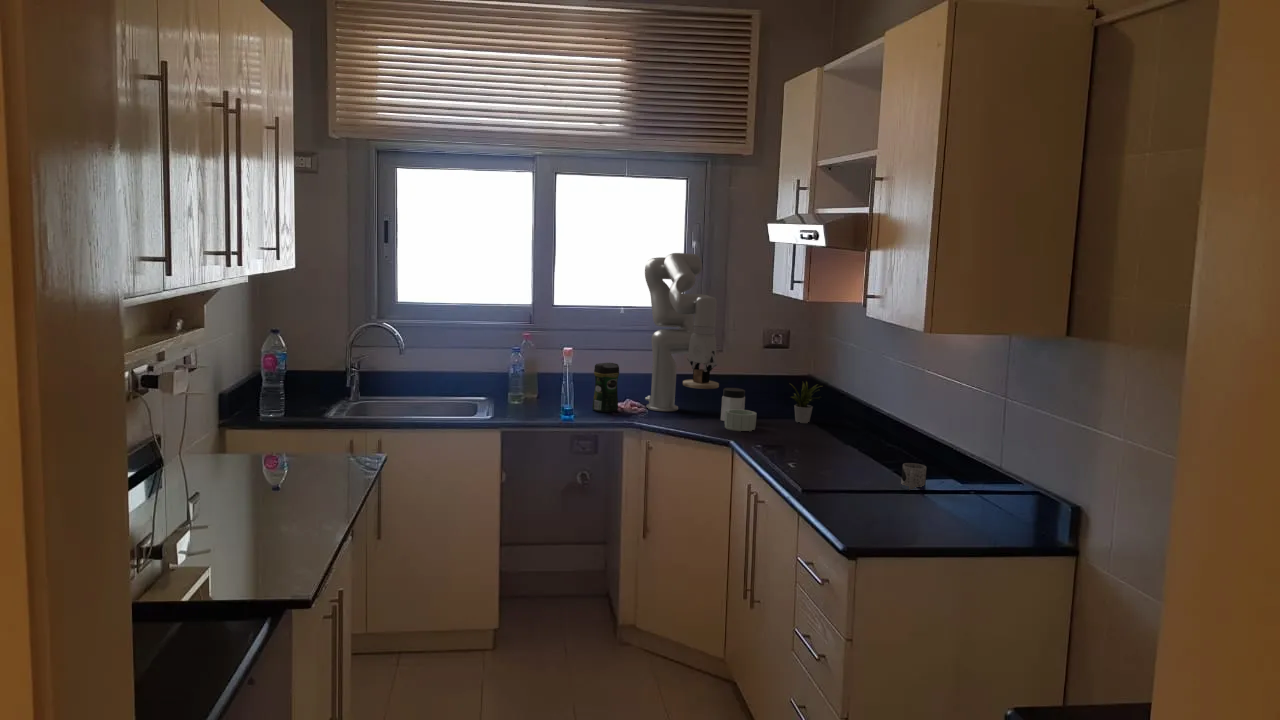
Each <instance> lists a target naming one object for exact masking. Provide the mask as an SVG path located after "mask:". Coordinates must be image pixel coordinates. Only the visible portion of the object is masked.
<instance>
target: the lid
mask: <svg viewBox="0 0 1280 720" xmlns="http://www.w3.org/2000/svg"><path fill="white" fill-rule="evenodd" d="M703 372H704V368H699V369H696V370H694V376H693V375H692V379H684V380H682V386H684V387H687V388H691V389H701V390H714V389H715V390H716V389H718V388H719V387H720V383H719V382H717V381H714V380H709V382H706V383H703V382H702V375H703Z"/></svg>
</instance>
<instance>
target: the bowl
mask: <svg viewBox="0 0 1280 720" xmlns="http://www.w3.org/2000/svg"><path fill="white" fill-rule="evenodd" d="M756 426H757V412H756V411H752V410H749V409H744V410H741V409H731V410H726V411H725V421H724V428H725V429H726V430H728V431H729V430H730V431H734V432H741V431H749V432H753V431H752V430H754V431H755V430H756Z"/></svg>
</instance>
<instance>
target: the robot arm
mask: <svg viewBox="0 0 1280 720" xmlns="http://www.w3.org/2000/svg"><path fill="white" fill-rule="evenodd" d="M702 268H703V262H702V259H701V258H700V256H699V255H698V254H695V253H686V252H673V253H670V254H668V255H666V256H665V257H652V258H650V259H648V260H647V261H646V263H645V266H644V278H645V283H646V286H647V288H648V290H649V291H648V292H649V295H650V301H651V302H650V304H651V305H650V306H651V311H652V314H651V315H652V319H653V320H652V321H653V324H654V325H655V326H657V327H660V328H661V327H662V329H657V330H655V331H654V332H653V334H652V335H651V350H652V368H651V369H652V371H651V372H652V373H651V388H650V389H651V390H650V395H647V396H646V397H645V398H644V400H645V401H648V403H647V404H646V407H647V408H648V410H651V411H655V412H676V411H678V410H679V406H678V405H676V404H675V401H676V398H675V397H676V385H677V384H676V383H677V362H676V361H675V360H676V359H674V357H673V355H679V354H680V355H682V354H683V355H685V354H688V355H687V358H686V359H687V361H688V362H689V364H690V365H691V369H692V377H693V376H694V370H696V369H701V368H700V367H701V364H703V369H704V372H703V375H702V382H703V383H706V382H709V381H710V376H711V375H710V374H711V372H712V370H713V369H714V368H715V367H717V366H718V361H717V359H716V358H717V338H716V335H715V333H716V331H715V330H716V321H717V320H716V319H717V317H716V316H717V305H718V304H717V303H718V302H717V301H718V300H717V299H716V297H714V296H710V295H708V294H701V293H685V292H687V291H689V290H690V289H692V288H694V285H695V284H696V277H697V276H698V275H700V273H701V271H702ZM664 280H670V281H672V283H671V285H670V287H669V285H668V284H667V283H666V282H665V281H664ZM663 328H664V329H663ZM666 328H668V329H666ZM670 328H672V329H670ZM674 328H678V329H674ZM647 408H646V409H647Z"/></svg>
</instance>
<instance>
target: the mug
mask: <svg viewBox="0 0 1280 720" xmlns="http://www.w3.org/2000/svg"><path fill="white" fill-rule="evenodd" d="M901 468H902V469H901V479H900V481H901V482H900V485H901V484H902V485H905V486H909V489H913V488H915V487H922V486H924V485H925V486H926V480H927V479H926V478H927V466H926V465H925V464H921V463H916V462H915V463H914V462H905V463H903V464H902V467H901Z"/></svg>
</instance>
